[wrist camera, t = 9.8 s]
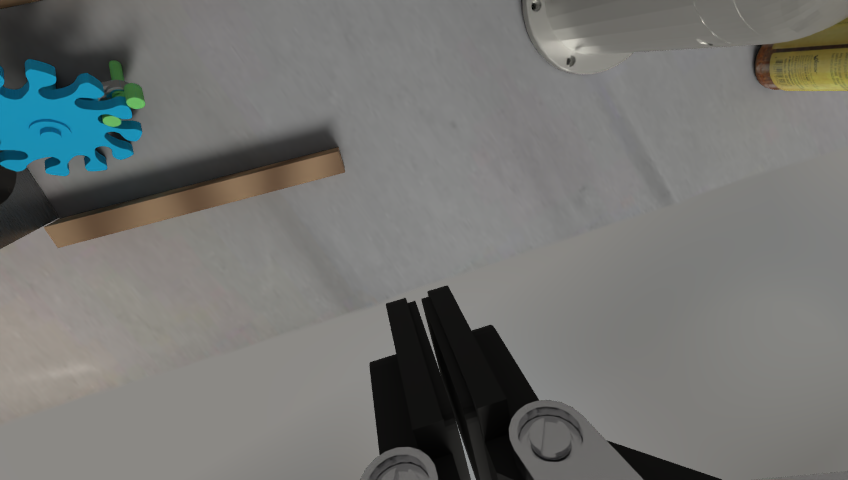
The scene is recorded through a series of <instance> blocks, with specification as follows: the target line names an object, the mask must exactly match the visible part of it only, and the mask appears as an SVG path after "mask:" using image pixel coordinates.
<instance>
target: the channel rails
mask: <svg viewBox="0 0 848 480" xmlns="http://www.w3.org/2000/svg"><path fill="white" fill-rule="evenodd" d="M36 1H41V0H0V9H2V8H7V7H12V6H17V5H22V4H27V3H31V2H36ZM344 172H345V167H344V164H343V161H342V157H341V154H340V151H339V148H338V147H337V148H333V149H329V150H325V151H321V152H317V153H313V154H310V155H306V156H302V157H298V158H294V159H290V160H286V161H282V162H278V163H274V164H271V165H267V166H263V167H259V168H255V169H251V170H247V171H243V172H239V173H235V174H232V175H228V176H224V177H220V178H216V179H212V180H208V181H204V182H200V183H197V184H193V185H189V186H185V187H181V188H177V189H173V190H169V191H165V192H161V193H158V194H154V195H150V196H146V197H142V198H138V199H134V200H130V201H126V202H123V203H119V204H115V205H111V206H107V207H103V208H99V209H95V210H91V211H87V212H84V213H80V214H76V215H72V216H68V217H64V218H60V219H58V220H56V221H55V222H53V223H51V224H49V225H47V226H45V227H44V228H45V230H46V231H47V233H48V234H49V236H50V237H51V239H52V240H53V242H54V243H55V244H56V246H57V247H58V248H60V247H63V246H67V245H71V244H75V243H79V242H82V241H86V240H90V239H94V238H98V237H101V236H105V235H109V234H113V233H116V232H120V231H124V230H128V229H132V228H135V227H139V226H143V225H147V224H151V223H154V222H158V221H162V220H166V219H170V218H173V217H177V216H181V215H185V214H189V213H192V212H196V211H200V210H204V209H208V208H211V207H215V206H219V205H223V204H227V203H230V202H234V201H238V200H242V199H246V198H249V197H253V196H257V195H261V194H265V193H268V192H272V191H276V190H280V189H284V188H287V187H291V186H295V185H299V184H303V183H306V182H310V181H314V180H318V179H322V178H325V177H329V176H333V175H337V174H341V173H344Z"/></svg>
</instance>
